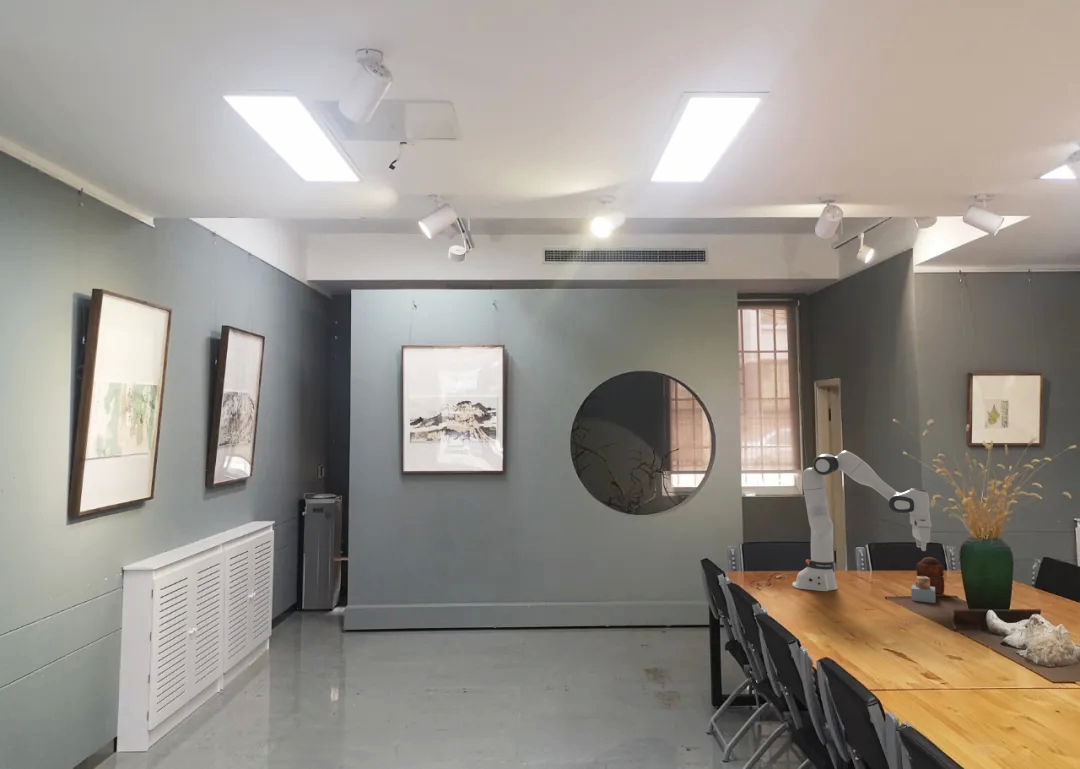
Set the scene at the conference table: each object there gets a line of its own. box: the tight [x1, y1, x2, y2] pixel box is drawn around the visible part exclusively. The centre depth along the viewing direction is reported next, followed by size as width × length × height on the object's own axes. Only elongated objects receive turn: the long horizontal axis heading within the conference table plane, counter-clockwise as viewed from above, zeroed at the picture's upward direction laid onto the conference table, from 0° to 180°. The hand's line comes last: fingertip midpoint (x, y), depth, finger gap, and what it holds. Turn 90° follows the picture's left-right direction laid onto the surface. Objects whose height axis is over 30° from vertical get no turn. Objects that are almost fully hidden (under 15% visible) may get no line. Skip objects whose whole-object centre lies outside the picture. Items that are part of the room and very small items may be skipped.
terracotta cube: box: [915, 575, 930, 589], centre depth 327 cm, size 5×5×5 cm
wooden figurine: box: [915, 556, 945, 595], centre depth 341 cm, size 12×6×18 cm, turn 72°
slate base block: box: [910, 584, 937, 604], centre depth 327 cm, size 10×10×6 cm
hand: (921, 549), depth 329 cm, fingers open, 8 cm apart
